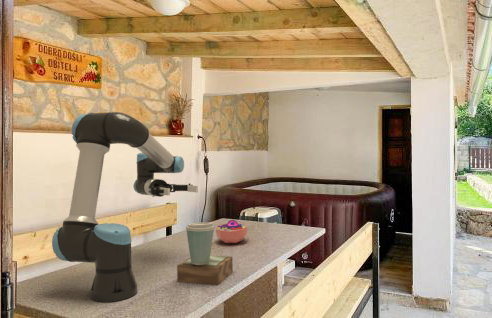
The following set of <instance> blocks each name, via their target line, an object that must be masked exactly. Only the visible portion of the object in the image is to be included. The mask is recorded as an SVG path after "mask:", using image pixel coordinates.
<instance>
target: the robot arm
mask: <svg viewBox="0 0 492 318" xmlns="http://www.w3.org/2000/svg"><path fill="white" fill-rule="evenodd" d="M71 135H72V140H73V141H74V142H75V143H76V145H75V146H76V148H77V149H78V150H79V153H78V161H77V167H76V172H75V177H74V184H73V190H72V195H71V196H72V197H71V203H70V208H69V214H68V216H67V217H65V219H63V222H62V226H61V227H58V228H56V230H55V232H54V233H53V235H52V238H51V246H52V247H51V248H52V252H53V254H54V255H55V256H56V257H57V259H59V260H61V261H64V262H70V263H75V262H76V263H92V264H95V273H94V278H93V281H92V284H91V287H90V288H91V289H90V299H91V300H92V301H96V302H102V303H108V302H109V303H110V302H118V301H123V300H126V299H130V298H131V297H133V296H135V295H136V294H137V293H138V283H137V281H136V277H135V275H134V272H133V268H132V266H133V265H132V235H131V230H130V228H129V227H128V226H126V225H125V224H120V223H115V222H114V223H111V222H110V223H108V222H105V223H99V222H98V220H97V219H96V213H97V206H98V201H99V200H98V199H99V193H100V186H101V180H102V172H103V166H104V159H105V155H106V154H107V153H109V152H110V150H111V149H110V148H111V145H113V144H123V145H128V146H129V147H131V148H132V149H133V148H134V149H137V150H138V151H140V152H138V153H137V154H136V175H137V176H136V180H134V182H133V186H132V187H133V190H134V191H135V192H136V193H137V194H139V195H142V196H143V195H144V196H151V197H152V198H155V197H159V198H160V197H164V196H171V193H175V192H187V193H198V192H199V186H198V185H193V184H191V183H188V184H175V183H167V182H166V181H165V180H164V179H157V178H155V174H179V173H182V172H183V171H184V168H185V160H184V158H183V157H182V156H178V155H175V156H174V155H173V154H172V153H171V152H170V151H168V150H167V148H165V146H163V145H162V144H161V143H160V142H159V141H158V140H157V139H156V138H155V137H154V136H152V134H151V133H150V130H149V128H148V127H147V126H146V125H145V124H143V123H142V121H139V119H137V118H135V117H133V116H132V115H129V114H127V113H123V112H119V111H112V112H110V111H109V112H88V113H83V114H79V116H77V117H76V118H75V119H74V121H73V123H72V126H71Z"/></svg>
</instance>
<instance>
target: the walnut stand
mask: <svg viewBox="0 0 492 318" xmlns="http://www.w3.org/2000/svg"><path fill="white" fill-rule="evenodd" d="M233 263H234V262H233V256H229V255H227V256H226V255H212V254H210V260H209V263H208V264H205V265H195V264H192V262H191V258H190V257H188V258H187V259H185V260H184V261H182V262H180V263H179V264H177V265H176V271H177V272H176V279H177V280H176V281H177V282H180V283H188V284H189V283H190V284H191V283H192V284H203V285H215V286H219V285H220V284H221V283H222V282H223V281H224V280H225V279H226V278H228V277H229V276H230V275H231V274H233V272H234V271H233V270H234V269H233V267H234V266H233Z"/></svg>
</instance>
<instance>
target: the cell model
mask: <svg viewBox="0 0 492 318" xmlns="http://www.w3.org/2000/svg"><path fill="white" fill-rule="evenodd" d="M215 234H216V237H217V238H218V239H219V240H221V241H222V242H224V243H225V244H238V243H240V242H241V241H243V240H244V239H245V238H246V237H247V235H248V226H247V225H246V224H244V223H238V222H237V220H235V219H230V220H228V221H227V223H223V224H221V223H220V224H219V225H216V226H215Z"/></svg>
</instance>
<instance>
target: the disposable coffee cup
mask: <svg viewBox="0 0 492 318" xmlns="http://www.w3.org/2000/svg"><path fill="white" fill-rule="evenodd" d="M214 230H216V226H215V225H214V222H191V223H188V224H187V225H186V227H185V231H186V236H187V243H188V251H189V258H191V262H192V264H195V265H205V264H208V263H209V260H210V255H211V252H212V246H213V239H214V238H213V237H214Z"/></svg>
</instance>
